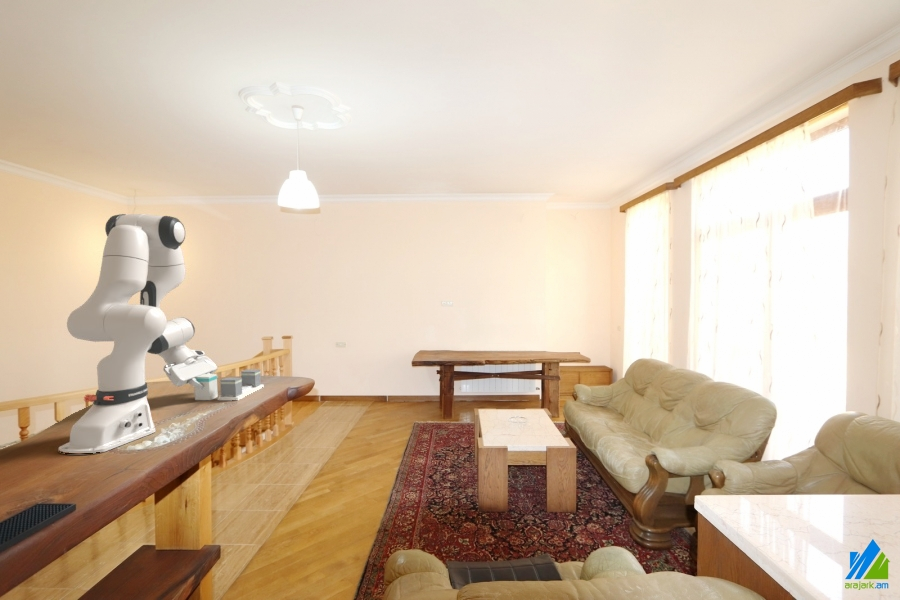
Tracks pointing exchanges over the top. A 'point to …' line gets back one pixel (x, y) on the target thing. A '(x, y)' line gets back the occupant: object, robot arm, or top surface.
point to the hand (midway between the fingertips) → (207, 385)
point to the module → (206, 387)
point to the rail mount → (240, 385)
